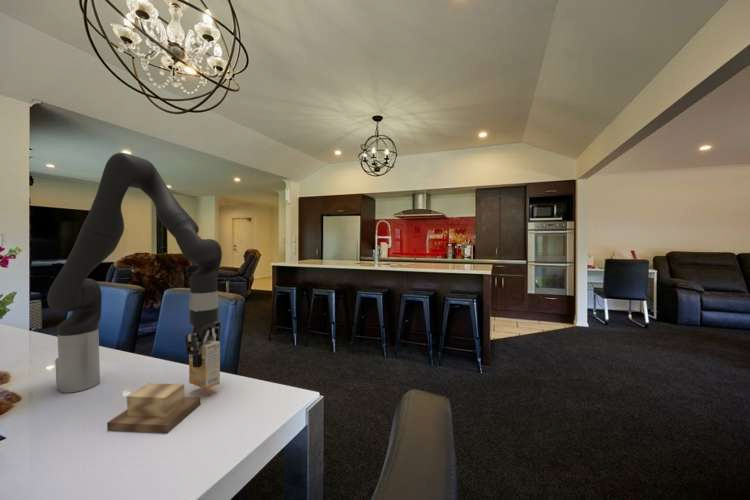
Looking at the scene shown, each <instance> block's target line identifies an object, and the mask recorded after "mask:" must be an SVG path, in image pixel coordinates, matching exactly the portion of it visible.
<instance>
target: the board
mask: <svg viewBox="0 0 750 500" xmlns="http://www.w3.org/2000/svg"><path fill="white" fill-rule="evenodd" d="M200 406H201V397H199V396H185V403H184V404H182V405H181V406H180V407H179V408H177V409H176V410H175V411H173V412H172V413H171V414H170V415H168V416H167V417H166V418H165V417H142V416H127V409H126V410H124V411H123V412H121V413H120V414H118V415H116V416H115V417H113V418H112V419H110V420H109V421H107V423H106V426H107V428H106V429H107V431H108V432H109V431H110V432H127V433H128V432H132V433H151V434H168V433H169V432H170V431H172V429H174V428H176V426H178V425H179V424H180V423H181V422H182V421H183V420H184V419H185V418H187V417H188V416H189V415H190V414H191V413H192V412H194V411H195V410H196V409H197V408H198V407H200Z"/></svg>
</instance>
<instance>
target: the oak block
mask: <svg viewBox="0 0 750 500" xmlns="http://www.w3.org/2000/svg"><path fill="white" fill-rule="evenodd" d="M185 397H186V396H185V384H183V383H181V384H180V383H158V382H157V383H155V382H154V383H152V382H151V383H150V382H148V383H147V384H144V386H141V387H140V388H139V389H136V390H135V391H133V392H132V393H130V394H128V395H127V396H126V406H127V407H126V410H127V416H142V417H165V418H166V417H167V416H168V415H170V414H171V413H172V412H173V411H175V410H176V409H177V408H179V407H180V406H181V405H182V404H184V403H185Z"/></svg>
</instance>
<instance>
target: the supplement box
mask: <svg viewBox="0 0 750 500" xmlns="http://www.w3.org/2000/svg"><path fill="white" fill-rule="evenodd" d="M197 343H201V342H198V341H197ZM198 349H199V346H197V350H198ZM191 350H192V347H191ZM201 354H202V366H201V367H193V355H188V359H189V360H188V365H189V367H188V368H189V369H188V371H189V372H188V373H189V374H188V377H189V378H188V379H189V380H188V383H189V384H190V385H193V386H196V387H200V388H202V389H203V390H209V389H211V388H214V387H215V386H218V385H219V384H220V383H221V378H220V377H221V341H220V340H219V341H215V340H212V339H208V340H207V341H206V343H205V345H203V346H202V352H201Z"/></svg>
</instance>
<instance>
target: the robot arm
mask: <svg viewBox="0 0 750 500" xmlns="http://www.w3.org/2000/svg"><path fill="white" fill-rule="evenodd" d="M129 188H135V189H139V190H141V191H142V192H143V193H144V194H145V195H146V196H148V197H149V198H150V199H151V201H152V202H153V204H154V207H155V210H156V215H157V218H158V219H159V221H160V222H161V224H162V225H163V227H165V228H166V230H167V231H168V232H169V233H170V234H171V236H173V238H174V239H175V241H176V243H177V246H178V247H179V249H180V251H181V253H182V255H183V257H184V258H185V259H186V260H188V261H189V262H190V263H192V264H197V265H198V267H197V269H196V271H194V272H192V273H191V275H190V282H189V283H190V284H189V285H190V286H189V290H190V294H189V300H188V301H189V303H188V304H189V311H188V312H189V315H188V316H189V324H191V325H192V326H193V329H192V332H191V333H189V334H188V333H186V334H185V336H184V337H185V348H186V349H185V350H186V355H188V356H189V355H193V367H201V366H202V354H201V352H202V346H203V345H205V343H206V341H207V340H208V339H212V340H215V341H219V342H220V339H221V327H222V326H221V322H220V321H219V295H218V274H219V272H220V266H221V263H222V258H223V251H222V250H223V249H222V247H221V245H220V242H218V241H217V240H215V239H211V238H207V239H205V238H203V239H202V238H201V237H200V235H199V234H198V233H199V231H200V228H199V226H198V223H197V222H195V220H194V219H193V218H192V217H191V216H190V214H188V212H187V211H186V210H185V209H184V208H183V207H182V206H181V204H180V203H179V202H178V200H177V199H176V197H175V196H174V195H173V194H172V191H170V189H169V187H168V185H167V183H165V181H164V179H163V178H162V176H161V174H160V173H159V171H158V169H157V168H156V167H155V165H154V164H153V163H152V162H151V161H150V160H148V159H145V158H143V157H141V156H137V155H133V154H129V153H125V152H117V153H114V154H112V156H110V158H109V159H108V160H107V162H106V163H105V166H104V168H103V172H102V175H101V178H100V182H99V185H98V188H97V192H96V195H95V197H94V200H93V202H92V205H91V207H90V209H89V211H88V214H87V216H86V218H85V220H84V222H83V224H82V226H81V228H80V231H79V233H78V235H77V237H76V240H75V242H74V245H73V247H72V249H71V251H70V253H69V255H68V257H67V259H66V261H65V263H64V265H63V266H62V267H61V269H60V271H59V273H58V274H57V276H56V277H55V279H54V280H53V282H52V284H51V286H50V287H49V289H48V293H47V298H46V300H47V305H48V308H50V309H51V310H52V311H54V312H56V313H69V312H72V313H71V314H70V315H69V317H67V318H66V319H64V320H63V321H62V322H60V323H59V324H58V325H57V327H56V331H57V332H56V333H57V355H58V357H56V359H55V361H54V362H55V381H56V388H55V389H56V390H57V391H59V392H60V393H65V394H69V393H75V392H76V393H77V392H81V391H85V390H88V389H91V388H93V387H96V386H97V385H98V384H99V383H101V375H100V374H101V370H100V368H101V365H100V339H99V336H100V335H99V325H100V324H99V323H100V321H101V317H102V302H103V301H102V299H103V298H102V294H103V293H102V288H101V285H100V284H99V283H98V282H97V281H96V280H95V279H94V278H93V279H92V278H88V276H90V273H91V272H92V271H94V269H95V268H97V267H98V266H99V265H100V264H101V263H103V262H104V261H105V260H106V259H107V258H108V257H109V256H110V255H112V254H113V253H114V251H115V250H116V248H117V246H118V245H119V243H120V241H121V239H122V236H123V234H124V231H125V221H124V216H123V213H122V204H123V200H124V198H125V195H126V193H127V191H128V189H129ZM197 341H198V342H201V343H197ZM197 346H199V349H198V350H197ZM191 347H192V350H191Z"/></svg>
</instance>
